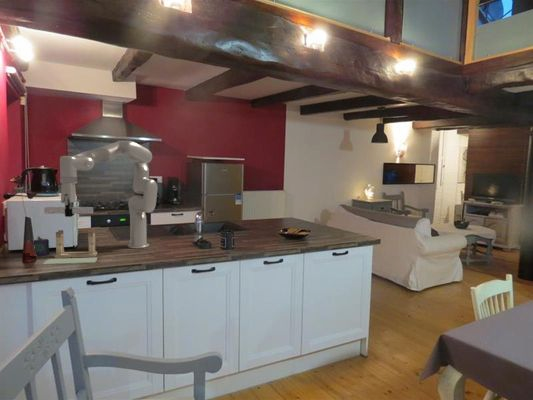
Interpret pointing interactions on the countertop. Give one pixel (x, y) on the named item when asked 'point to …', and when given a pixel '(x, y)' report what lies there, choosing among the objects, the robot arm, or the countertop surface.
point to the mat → (69, 261)
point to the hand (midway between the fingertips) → (69, 215)
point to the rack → (62, 254)
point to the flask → (41, 246)
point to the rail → (74, 209)
